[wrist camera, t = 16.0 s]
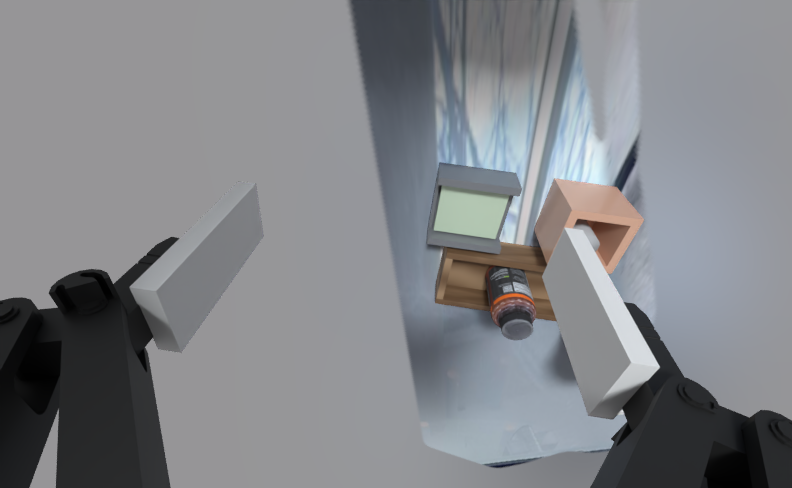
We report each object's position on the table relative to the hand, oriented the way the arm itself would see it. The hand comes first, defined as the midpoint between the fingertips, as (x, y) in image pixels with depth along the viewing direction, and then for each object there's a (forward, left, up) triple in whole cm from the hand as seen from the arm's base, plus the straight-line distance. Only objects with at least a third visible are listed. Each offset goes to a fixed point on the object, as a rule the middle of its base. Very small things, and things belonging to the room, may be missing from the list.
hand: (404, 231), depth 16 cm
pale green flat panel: (+15, +8, -30) cm, 34 cm away
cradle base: (+15, +8, -32) cm, 36 cm away
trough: (+26, +16, -32) cm, 44 cm away
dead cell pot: (+14, +22, -32) cm, 41 cm away
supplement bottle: (+26, +16, -31) cm, 43 cm away
